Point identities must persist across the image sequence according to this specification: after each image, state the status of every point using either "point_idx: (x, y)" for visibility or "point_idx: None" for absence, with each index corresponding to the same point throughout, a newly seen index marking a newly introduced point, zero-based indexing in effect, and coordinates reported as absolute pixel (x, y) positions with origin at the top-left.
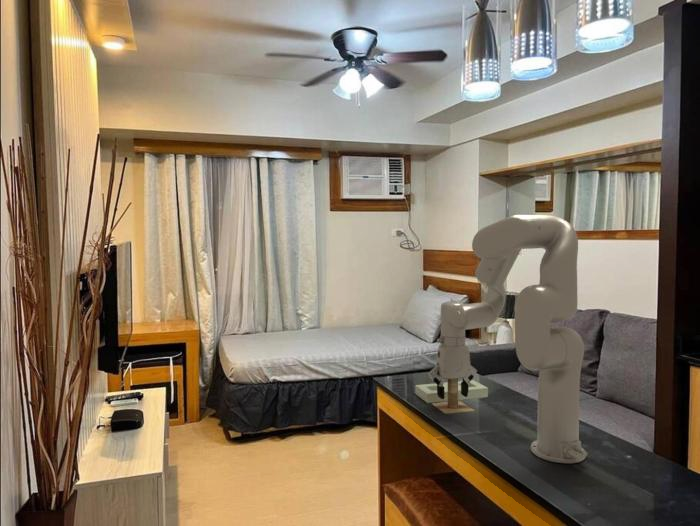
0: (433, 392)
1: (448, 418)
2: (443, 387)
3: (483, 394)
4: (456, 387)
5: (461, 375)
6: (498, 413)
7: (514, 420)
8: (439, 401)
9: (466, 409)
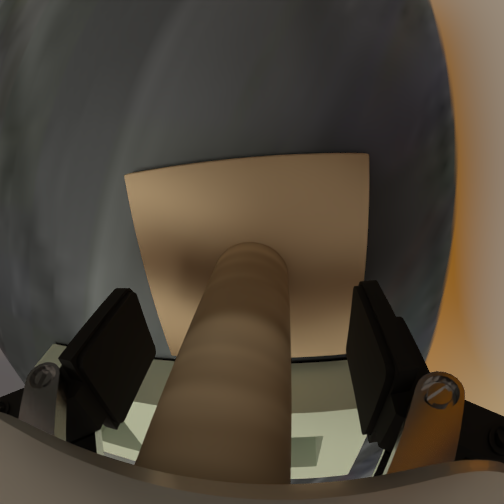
0: (330, 417)
1: (360, 104)
2: (402, 363)
3: (57, 358)
4: (196, 360)
5: (40, 479)
6: (31, 153)
7: (15, 59)
8: (293, 370)
9: (172, 207)
